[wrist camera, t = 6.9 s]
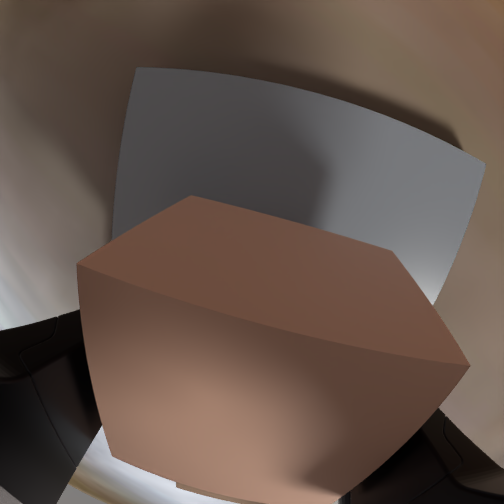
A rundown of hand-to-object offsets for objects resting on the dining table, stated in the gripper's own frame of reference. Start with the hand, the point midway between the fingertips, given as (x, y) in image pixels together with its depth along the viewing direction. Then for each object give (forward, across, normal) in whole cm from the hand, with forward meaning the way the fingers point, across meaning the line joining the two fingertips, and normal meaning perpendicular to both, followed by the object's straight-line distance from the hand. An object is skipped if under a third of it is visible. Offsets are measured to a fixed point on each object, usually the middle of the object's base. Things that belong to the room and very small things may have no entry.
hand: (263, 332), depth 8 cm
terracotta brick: (+1, 0, 0) cm, 1 cm away
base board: (+5, 0, 0) cm, 5 cm away
